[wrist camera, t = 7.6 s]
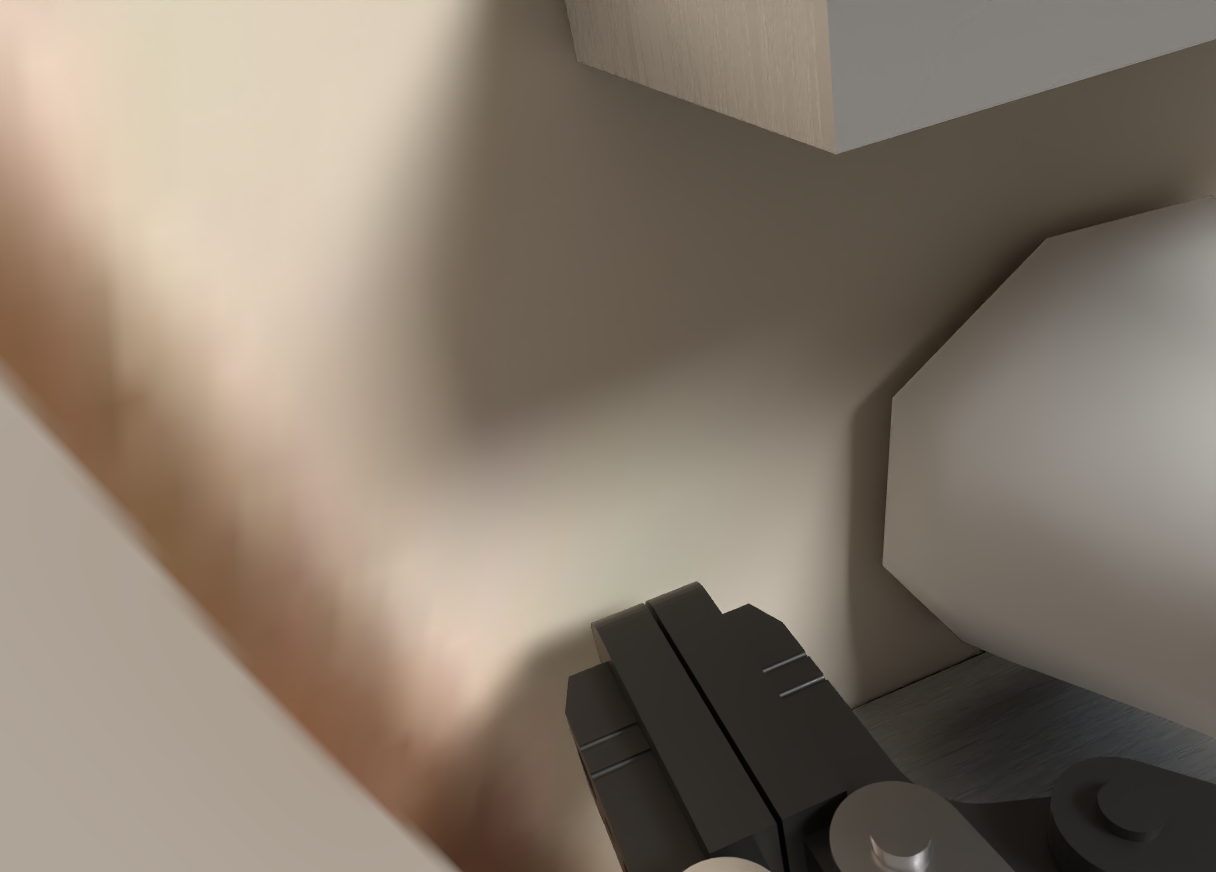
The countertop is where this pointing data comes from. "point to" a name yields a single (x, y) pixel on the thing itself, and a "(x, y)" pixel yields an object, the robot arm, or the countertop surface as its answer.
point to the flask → (1075, 466)
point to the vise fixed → (1018, 732)
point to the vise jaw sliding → (872, 55)
